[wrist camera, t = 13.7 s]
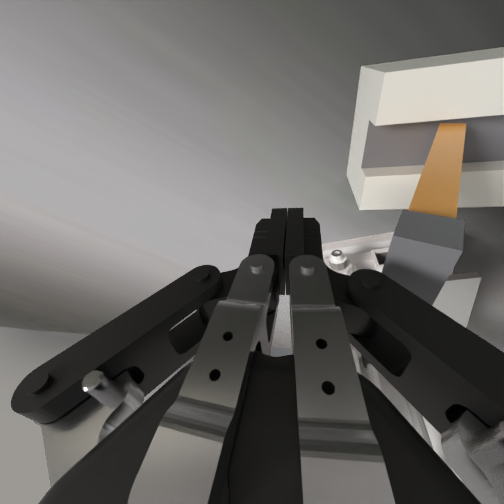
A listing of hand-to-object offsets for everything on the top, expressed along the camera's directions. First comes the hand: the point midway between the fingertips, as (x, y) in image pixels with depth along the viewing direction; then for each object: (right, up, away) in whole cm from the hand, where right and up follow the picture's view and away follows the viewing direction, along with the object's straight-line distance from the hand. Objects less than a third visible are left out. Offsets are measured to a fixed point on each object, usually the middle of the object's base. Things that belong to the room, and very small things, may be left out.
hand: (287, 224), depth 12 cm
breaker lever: (+13, +7, +6) cm, 16 cm away
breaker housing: (+14, +11, +11) cm, 21 cm away
